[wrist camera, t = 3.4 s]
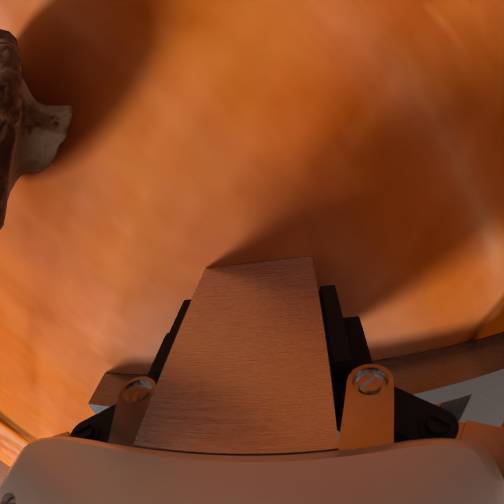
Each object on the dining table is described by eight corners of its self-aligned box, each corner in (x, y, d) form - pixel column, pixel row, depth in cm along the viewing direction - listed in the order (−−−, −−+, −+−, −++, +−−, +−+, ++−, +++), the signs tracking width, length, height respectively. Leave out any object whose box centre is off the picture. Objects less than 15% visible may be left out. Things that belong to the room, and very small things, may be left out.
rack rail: (154, 445, 20) (145, 472, 18) (105, 372, 16) (88, 403, 14) (482, 411, 16) (492, 437, 14) (519, 326, 13) (539, 354, 11)
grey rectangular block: (205, 268, 13) (125, 466, 5) (312, 255, 12) (340, 474, 4) (227, 347, 15) (189, 524, 7) (319, 339, 14) (333, 526, 6)
